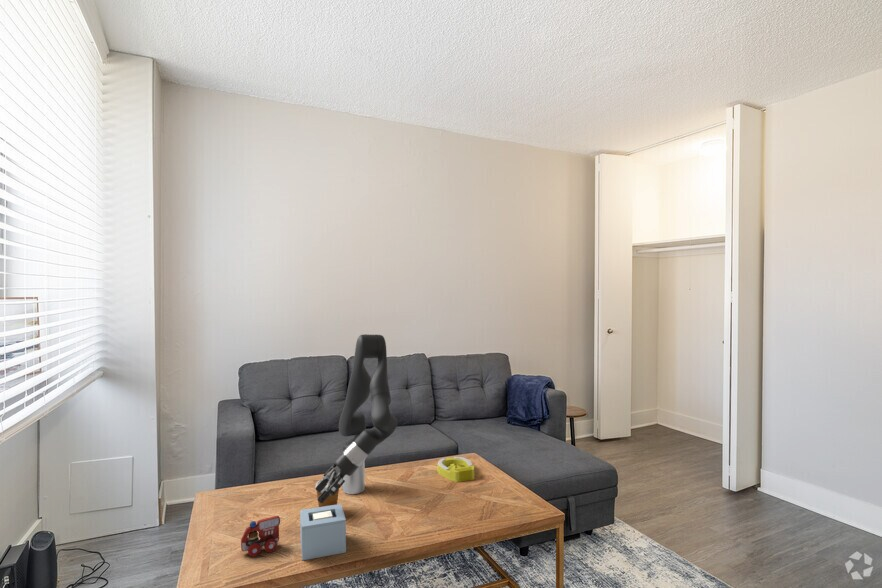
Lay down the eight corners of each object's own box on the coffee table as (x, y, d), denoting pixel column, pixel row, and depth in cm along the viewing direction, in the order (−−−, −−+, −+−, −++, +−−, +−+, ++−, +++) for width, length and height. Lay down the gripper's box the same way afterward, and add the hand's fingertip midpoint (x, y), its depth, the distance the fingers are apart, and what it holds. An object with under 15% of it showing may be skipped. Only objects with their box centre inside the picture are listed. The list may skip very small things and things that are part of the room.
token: (330, 539, 164) (330, 510, 164) (332, 545, 160) (332, 515, 160) (313, 542, 162) (312, 513, 161) (314, 548, 158) (314, 519, 158)
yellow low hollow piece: (448, 484, 211) (448, 473, 211) (432, 467, 231) (432, 457, 231) (481, 478, 217) (481, 467, 217) (463, 462, 237) (463, 453, 237)
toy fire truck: (240, 549, 160) (239, 519, 159) (278, 540, 166) (278, 510, 165) (242, 560, 154) (241, 528, 153) (281, 549, 159) (281, 519, 159)
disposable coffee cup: (327, 521, 178) (327, 489, 178) (310, 514, 183) (309, 484, 183) (345, 511, 186) (345, 480, 186) (328, 505, 191) (327, 475, 191)
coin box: (302, 560, 153) (301, 526, 153) (300, 541, 164) (300, 510, 164) (345, 552, 158) (345, 519, 157) (341, 534, 169) (341, 503, 169)
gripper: (341, 444, 169) (308, 481, 166) (347, 458, 156) (311, 498, 152) (356, 457, 171) (324, 493, 168) (363, 472, 158) (328, 512, 154)
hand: (318, 495), depth 160 cm, fingers open, 8 cm apart
